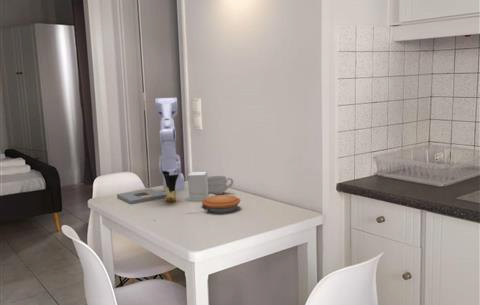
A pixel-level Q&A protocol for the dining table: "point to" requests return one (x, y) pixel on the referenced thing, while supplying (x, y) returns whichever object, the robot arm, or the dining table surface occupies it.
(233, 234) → the dining table surface
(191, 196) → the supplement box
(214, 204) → the pie
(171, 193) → the brass peg
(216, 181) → the teacup
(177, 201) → the tan flat square
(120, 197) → the hole board
